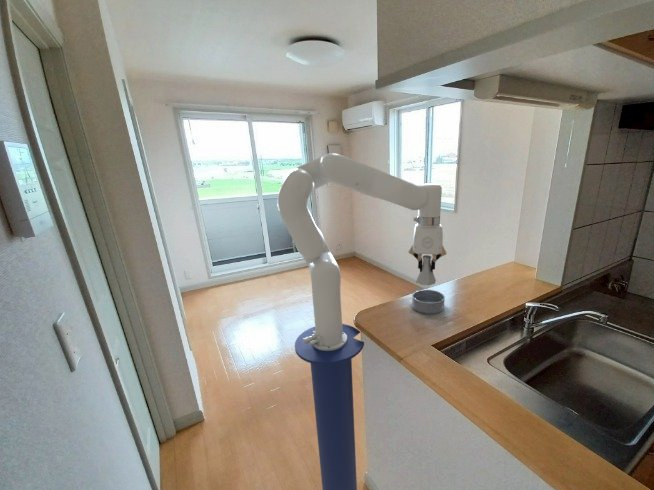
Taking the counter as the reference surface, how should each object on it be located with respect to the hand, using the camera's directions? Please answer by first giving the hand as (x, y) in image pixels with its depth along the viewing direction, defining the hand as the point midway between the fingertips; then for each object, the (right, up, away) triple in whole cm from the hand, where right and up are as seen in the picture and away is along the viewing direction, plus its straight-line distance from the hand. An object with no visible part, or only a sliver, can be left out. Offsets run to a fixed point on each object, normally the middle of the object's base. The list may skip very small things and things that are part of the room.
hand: (426, 270), depth 113 cm
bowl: (+4, -16, +19) cm, 25 cm away
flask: (0, -5, +2) cm, 5 cm away
